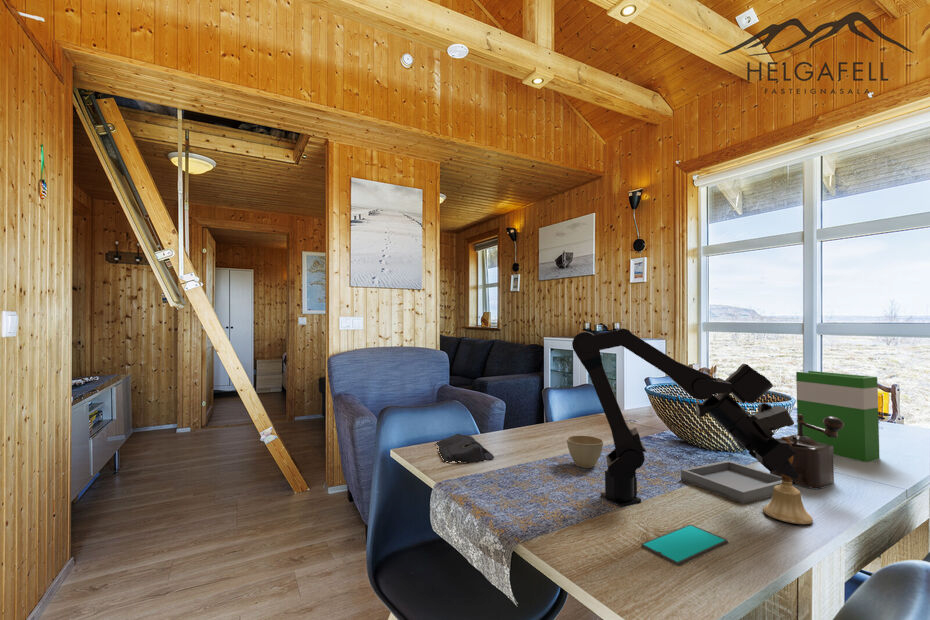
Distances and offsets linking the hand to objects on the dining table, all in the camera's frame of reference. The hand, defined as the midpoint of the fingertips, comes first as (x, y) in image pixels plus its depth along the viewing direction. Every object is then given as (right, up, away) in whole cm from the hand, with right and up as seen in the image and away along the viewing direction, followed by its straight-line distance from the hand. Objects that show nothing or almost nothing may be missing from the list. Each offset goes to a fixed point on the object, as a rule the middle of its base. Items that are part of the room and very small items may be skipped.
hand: (794, 475), depth 89 cm
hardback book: (+47, -10, +44) cm, 65 cm away
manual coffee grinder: (+19, -9, +19) cm, 28 cm away
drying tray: (-1, -9, +18) cm, 20 cm away
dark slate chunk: (-69, -11, +45) cm, 83 cm away
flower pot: (-34, -10, +33) cm, 48 cm away
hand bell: (-1, -8, 0) cm, 8 cm away
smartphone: (-28, -9, -11) cm, 31 cm away
